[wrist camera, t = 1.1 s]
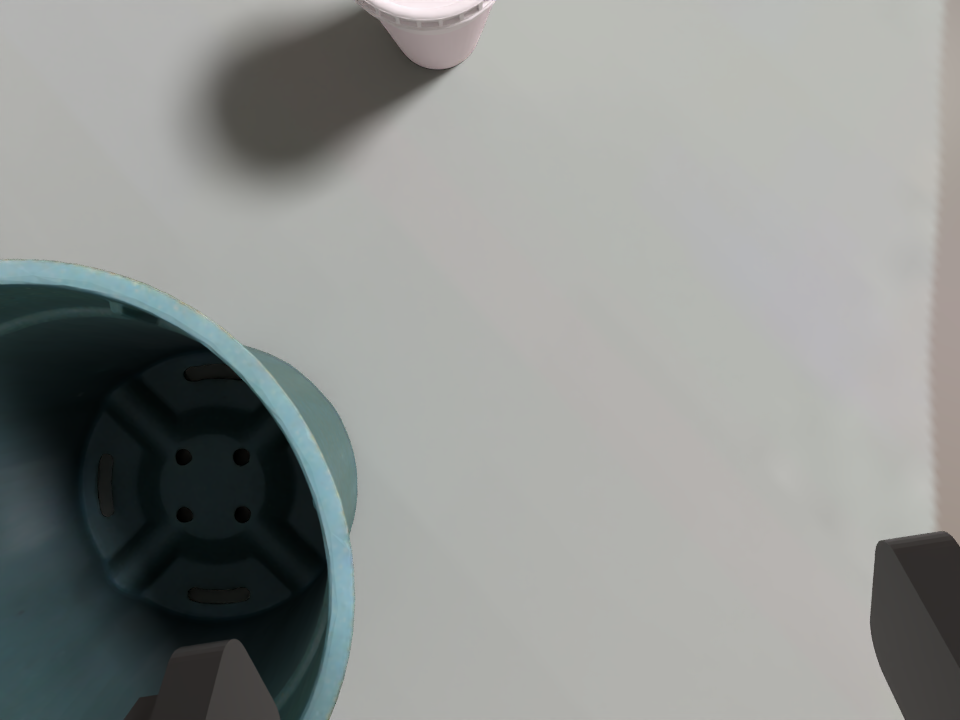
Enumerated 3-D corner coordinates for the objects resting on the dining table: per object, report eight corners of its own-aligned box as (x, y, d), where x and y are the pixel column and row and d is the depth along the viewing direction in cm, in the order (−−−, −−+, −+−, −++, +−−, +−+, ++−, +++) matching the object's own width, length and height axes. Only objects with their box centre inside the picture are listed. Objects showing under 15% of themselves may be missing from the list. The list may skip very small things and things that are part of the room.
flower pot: (-49, 540, 38) (-438, 694, 22) (151, 216, 37) (-94, 129, 21) (276, 741, 38) (130, 1040, 22) (478, 422, 38) (480, 489, 22)
